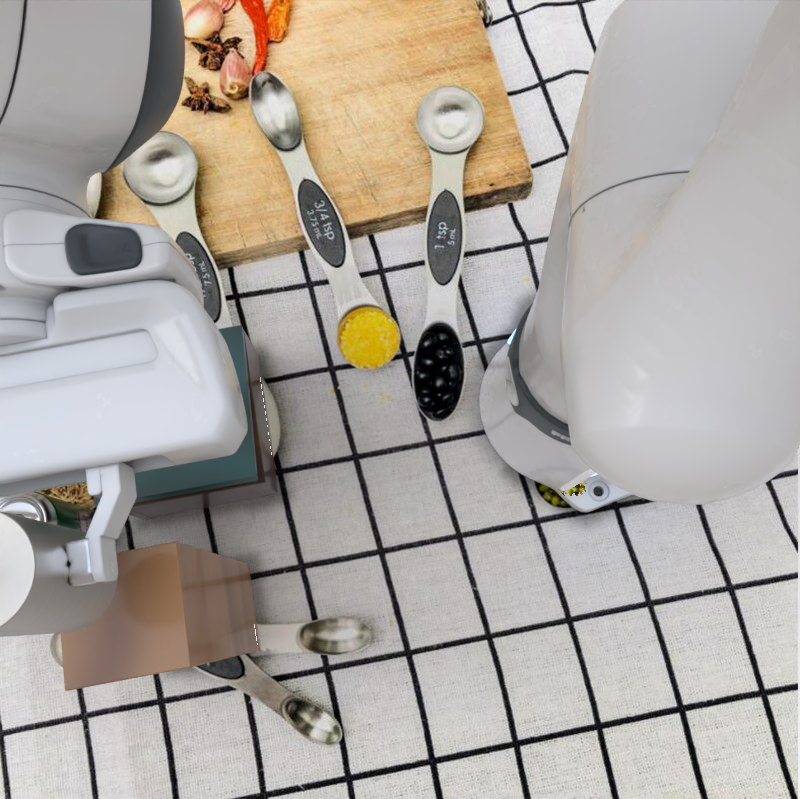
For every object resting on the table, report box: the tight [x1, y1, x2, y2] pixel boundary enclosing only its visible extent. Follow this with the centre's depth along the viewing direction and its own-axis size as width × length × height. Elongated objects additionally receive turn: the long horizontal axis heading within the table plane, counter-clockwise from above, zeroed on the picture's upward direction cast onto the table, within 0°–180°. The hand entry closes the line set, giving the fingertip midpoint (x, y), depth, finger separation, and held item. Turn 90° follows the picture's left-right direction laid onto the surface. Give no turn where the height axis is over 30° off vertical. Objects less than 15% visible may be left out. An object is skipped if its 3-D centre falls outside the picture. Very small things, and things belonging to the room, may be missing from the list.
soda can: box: [0, 491, 96, 532], centre depth 64 cm, size 5×5×12 cm
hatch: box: [94, 324, 258, 509], centre depth 63 cm, size 13×12×1 cm
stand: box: [60, 541, 261, 692], centre depth 57 cm, size 7×7×22 cm
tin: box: [0, 511, 118, 638], centre depth 35 cm, size 5×5×9 cm
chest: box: [129, 330, 280, 520], centre depth 68 cm, size 13×12×7 cm
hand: (22, 597), depth 35 cm, fingers closed on tin, 5 cm apart
